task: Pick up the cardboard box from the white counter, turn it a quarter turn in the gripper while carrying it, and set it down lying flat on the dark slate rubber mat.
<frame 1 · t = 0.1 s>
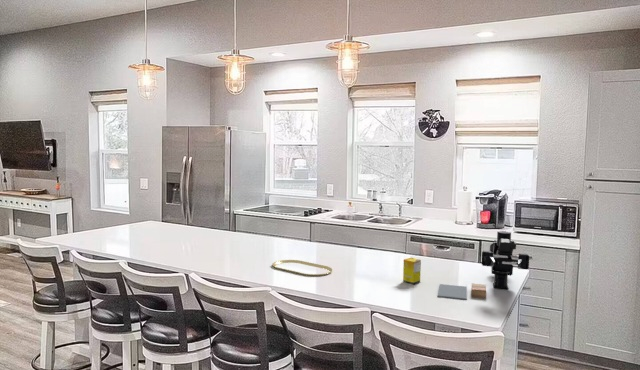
hand: (506, 264, 193), 17 cm above the table, tool horizontal, fingers open, 9 cm apart
slate mat: (452, 292, 209), on the table
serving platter: (301, 270, 246), on the table
cardboard box: (478, 294, 207), on the table
supplement box: (411, 282, 224), on the table
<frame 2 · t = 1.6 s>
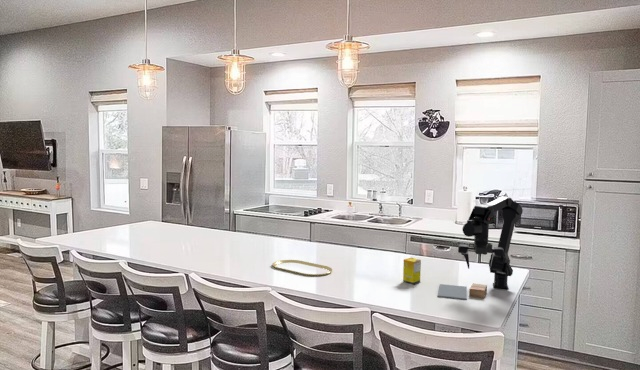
hand: (479, 269, 206), 11 cm above the table, tool pointing down, fingers open, 9 cm apart
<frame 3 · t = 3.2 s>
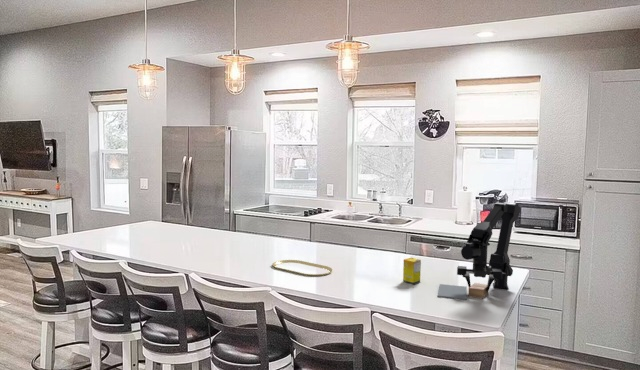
hand: (478, 291, 207), 1 cm above the table, tool pointing down, fingers closed on cardboard box, 7 cm apart
cardboard box: (478, 294, 207), on the table, touching gripper
everything else where it was.
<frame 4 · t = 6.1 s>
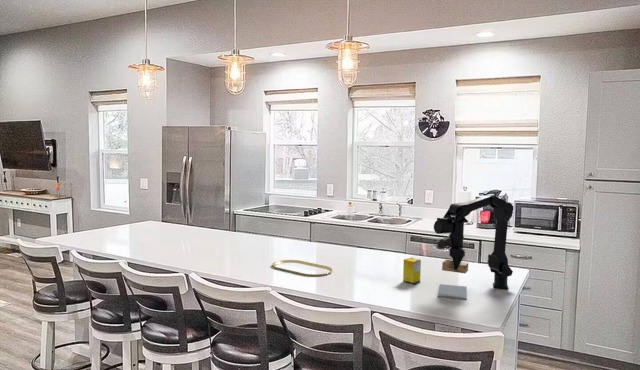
hand: (455, 267, 208), 11 cm above the table, tool pointing down, fingers closed on cardboard box, 7 cm apart
cardboard box: (455, 270, 208), point 10 cm above the table, touching gripper
everything else where it was.
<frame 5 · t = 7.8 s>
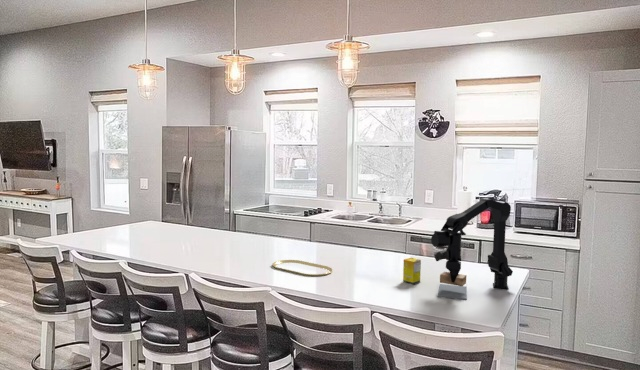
hand: (453, 280, 209), 5 cm above the table, tool pointing down, fingers closed on cardboard box, 7 cm apart
cardboard box: (452, 282, 209), point 4 cm above the table, touching gripper
everything else where it was.
when the fingers open (3 cm above the table, at t = 9.1 s): cardboard box drops 1 cm, resting on slate mat.
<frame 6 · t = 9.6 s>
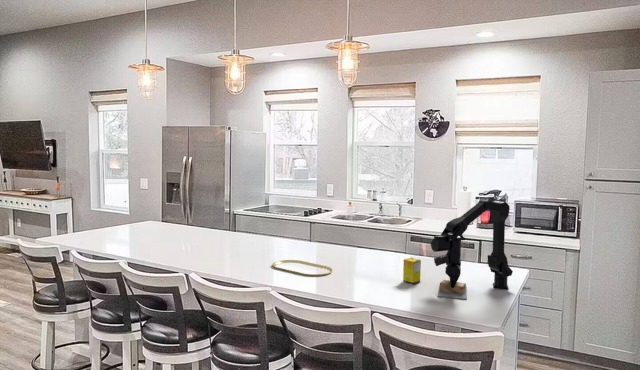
hand: (452, 284, 209), 3 cm above the table, tool pointing down, fingers open, 9 cm apart
cardboard box: (452, 290, 209), point 1 cm above the table, touching slate mat
everything else where it was.
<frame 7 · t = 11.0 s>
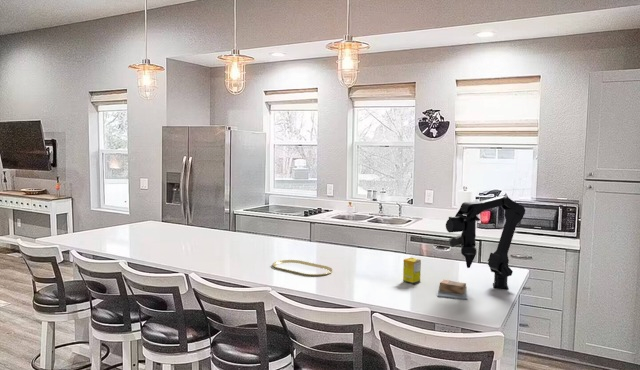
hand: (468, 265, 212), 11 cm above the table, tool pointing down, fingers open, 9 cm apart
nothing on the table moved.
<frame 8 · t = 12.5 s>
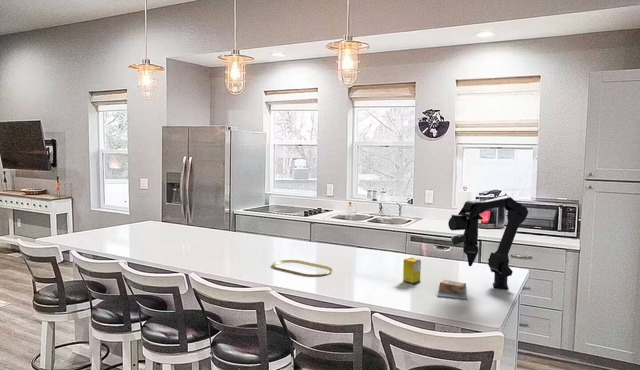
hand: (469, 263, 212), 12 cm above the table, tool pointing down, fingers open, 9 cm apart
nothing on the table moved.
at the end: cardboard box inside the target area on the slate mat (0.0 cm from its centre), point 0.6 cm above the slate mat's base; cardboard box tilted 0°; the gripper is holding nothing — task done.
